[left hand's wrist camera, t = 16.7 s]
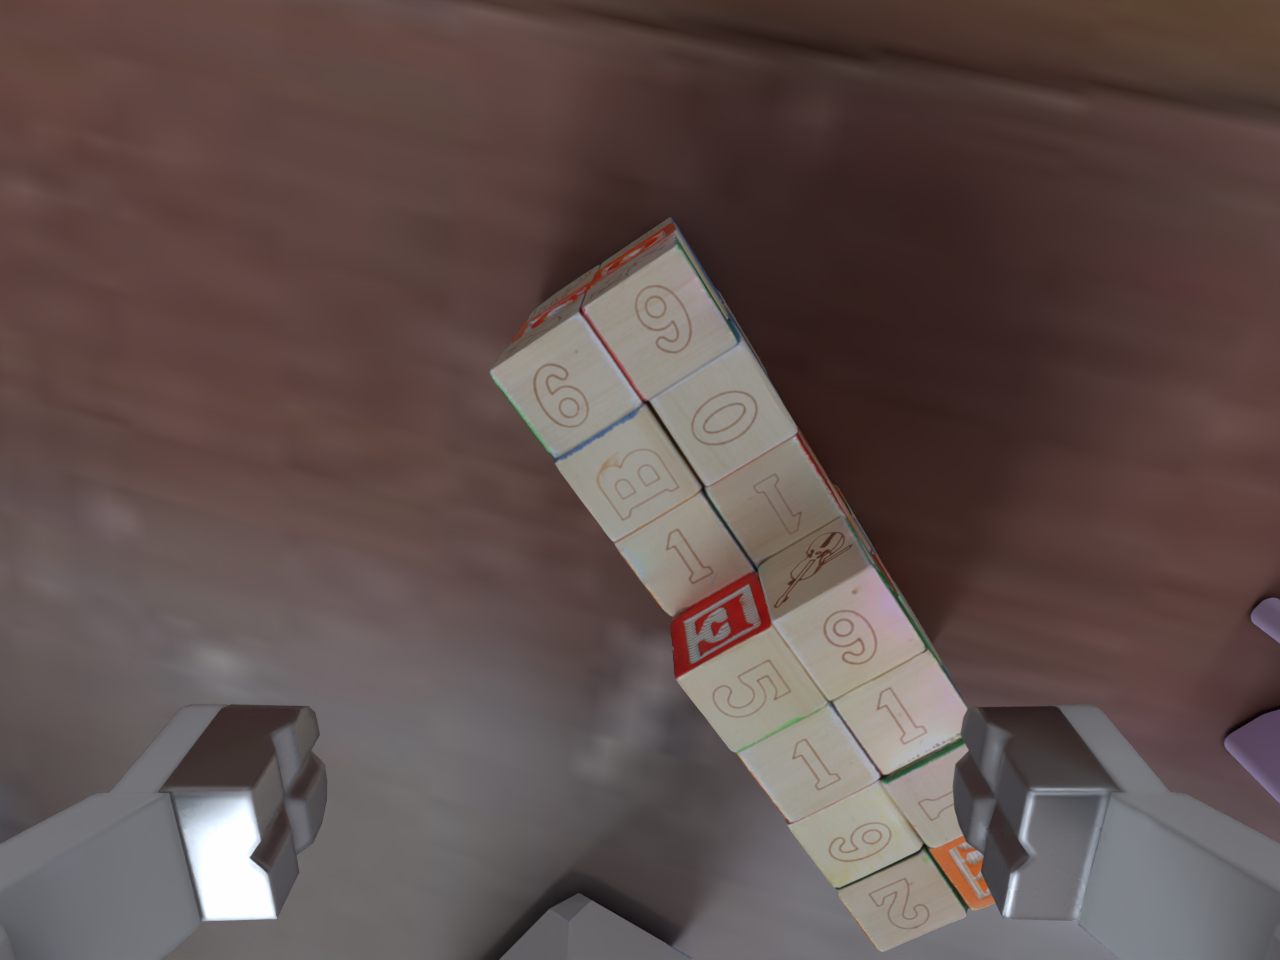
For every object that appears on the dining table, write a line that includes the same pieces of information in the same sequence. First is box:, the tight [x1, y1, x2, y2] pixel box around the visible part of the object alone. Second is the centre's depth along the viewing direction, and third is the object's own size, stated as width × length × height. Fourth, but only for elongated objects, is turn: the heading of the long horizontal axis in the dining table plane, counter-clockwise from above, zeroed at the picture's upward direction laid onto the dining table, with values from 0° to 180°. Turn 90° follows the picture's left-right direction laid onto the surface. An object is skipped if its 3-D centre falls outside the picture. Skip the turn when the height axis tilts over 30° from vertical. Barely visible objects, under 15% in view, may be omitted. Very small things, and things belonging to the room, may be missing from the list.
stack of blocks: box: [490, 217, 995, 952], centre depth 28 cm, size 21×6×12 cm, turn 33°
